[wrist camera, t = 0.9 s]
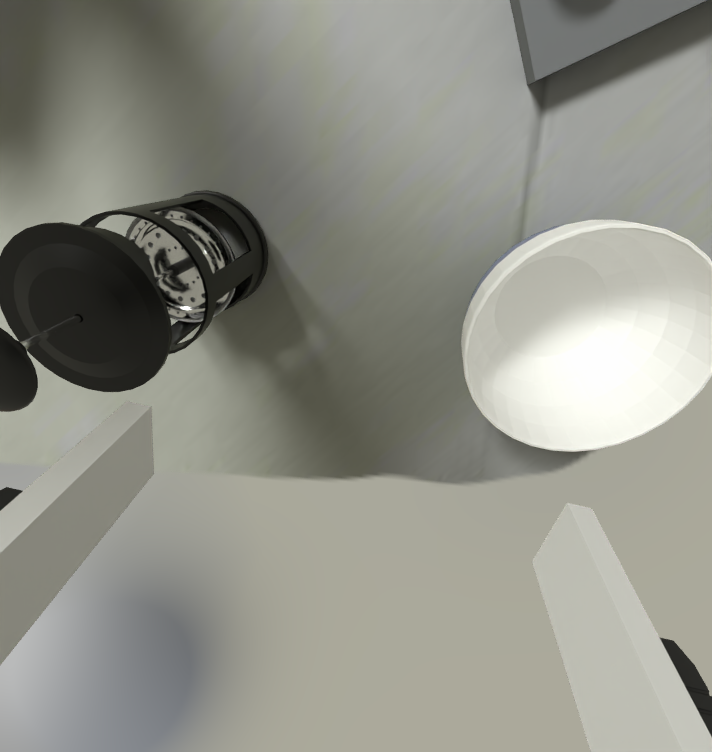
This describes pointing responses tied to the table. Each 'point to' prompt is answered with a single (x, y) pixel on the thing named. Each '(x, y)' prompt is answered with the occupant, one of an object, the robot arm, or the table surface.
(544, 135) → the table surface
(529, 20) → the console board
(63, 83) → the table surface
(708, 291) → the bowl
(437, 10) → the table surface
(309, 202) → the table surface
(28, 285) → the french press
